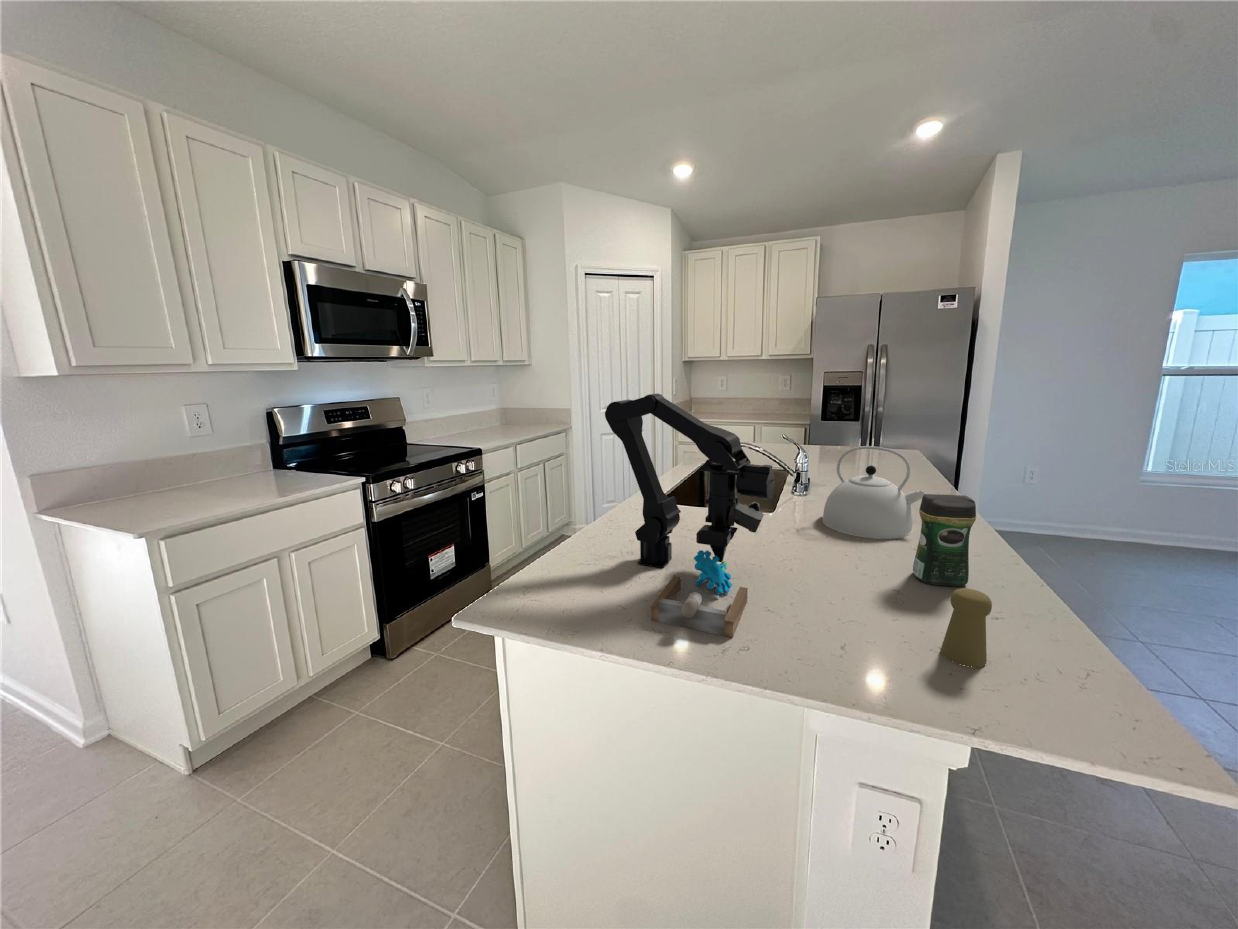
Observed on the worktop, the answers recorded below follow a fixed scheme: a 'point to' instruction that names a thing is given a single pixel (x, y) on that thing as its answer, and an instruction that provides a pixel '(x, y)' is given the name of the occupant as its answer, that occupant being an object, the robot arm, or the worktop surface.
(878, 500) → the kettle
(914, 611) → the worktop surface
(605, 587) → the worktop surface
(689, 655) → the worktop surface
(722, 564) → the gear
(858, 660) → the worktop surface
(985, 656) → the cork
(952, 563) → the coffee jar
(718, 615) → the cradle
